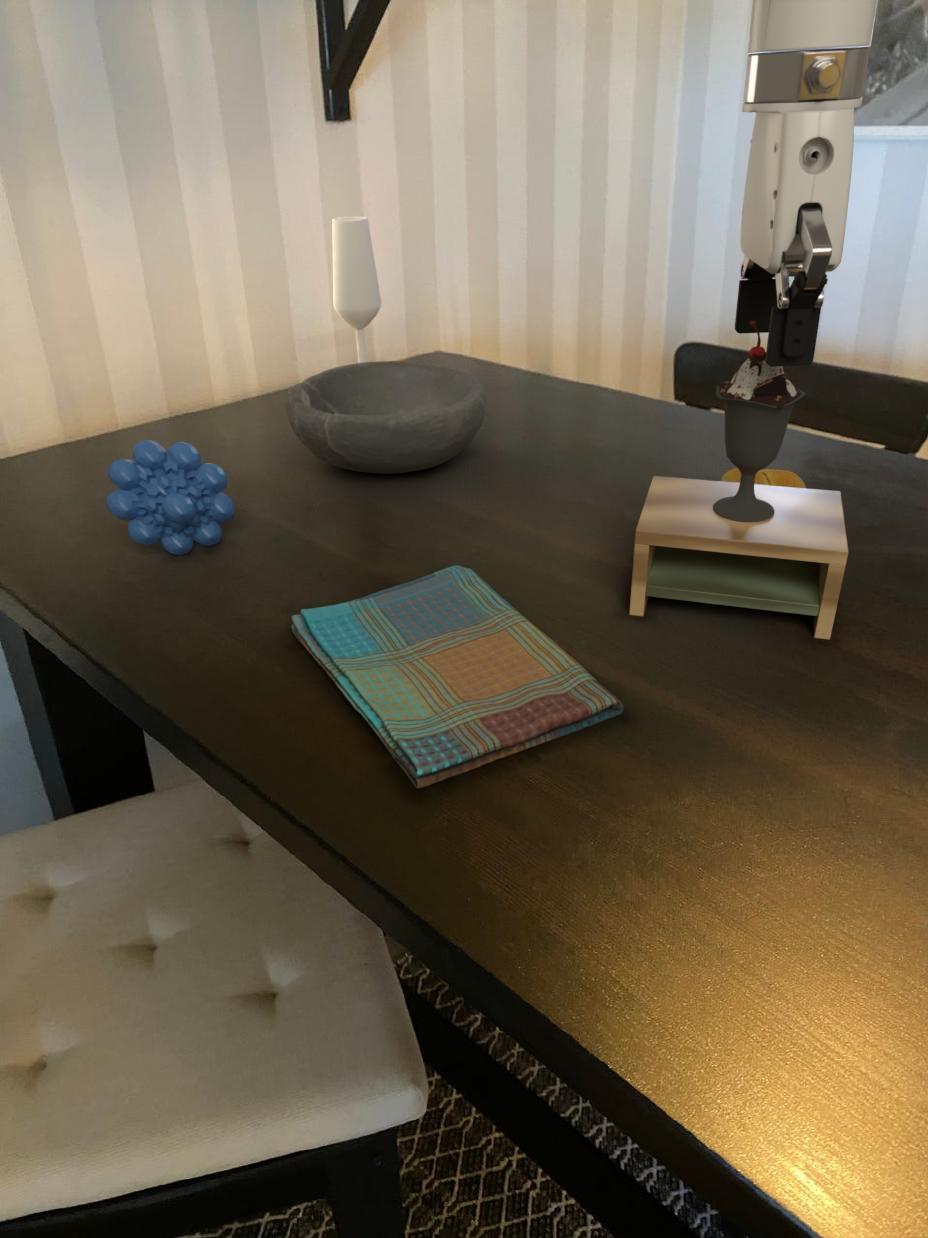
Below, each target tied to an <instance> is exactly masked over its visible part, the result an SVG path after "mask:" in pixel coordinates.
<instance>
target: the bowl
mask: <svg viewBox="0 0 928 1238" xmlns="http://www.w3.org/2000/svg"><path fill="white" fill-rule="evenodd" d="M286 394H287V395H286V399H285V400H286V401H285V413H286V415H287V419H288V422H289V424H290V427H291V429H292V431H293V432H294V434H295V436H297V438H298V439H299V440H300V442H301V443H302V444H303V445H304V447H306V448H307V450H308V451H309V452H310V453H311V454H312V455H314V456H315V458H317V459H319V460H320V461H322V462H324V463H327V464H328V465H332V466H335V467H338V468H340V469H345V470H349V471H354V472H358V473H359V472H360V473H368V474H378V475H379V474H382V475H383V474H384V475H396V474H404V473H411V472H419V471H423V470H427V469H430V468H433V467H437V466H440V465H442V464H444V463H446V462H448V461H449V460H452V459H453V458H454V457H456V456H458V454H460V453H461V452H462V451H463V450H464V449H465V448H466V447H467V446H468V445H469V444H470V443H472V441H473V439H474V438H475V437H476V435H477V433H478V432H479V430H480V428H481V426H482V423H483V422H484V418H485V415H486V407H487V399H486V397H487V396H486V391H485V389H484V387H483V385H482V384H481V383H480V381H479V380H478V379H477V378H476V377H474V376H473V375H471V374H469V373H467V372H465V371H463V370H459V369H457V368H453V367H449V366H445V365H437V364H427V363H419V362H410V361H397V360H387V361H385V360H384V361H383V360H382V361H366V362H364V363H358V362H357V363H351V364H346V365H340V366H336V367H333V368H329V369H326V370H324V371H321V372H319V373H316V374H314V375H312V376H309V377H308V378H305V379H304V380H303V381H301V382H300V383H297V384H295V385H293V386H291V388H289V389H288V391H287V393H286Z"/></svg>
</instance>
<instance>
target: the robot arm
mask: <svg viewBox="0 0 928 1238" xmlns="http://www.w3.org/2000/svg"><path fill="white" fill-rule="evenodd" d="M878 1H879V0H752V5H751V13H750V14H751V16H750V25H749V41H748V47H747V54H748V55H747V57H746V67H745V68H746V69H745V77H744V88H743V89H744V90H743V99H742V106H741V107H742V108H741V112H742V113H755V116H754V123H753V128H752V135H751V139H750V147H749V155H748V162H747V170H746V177H745V185H744V192H743V193H744V194H743V201H742V209H741V211H742V212H741V224H740V250H741V252H742V254H743V255H744V256H743V260H742V262H741V265H740V270H739V271H740V273H739V275H740V279H739V280H738V290H737V300H736V302H737V303H736V309H735V319H734V331H736V333H737V334H757V332H756V331H755V330H754V329H753V327H752V326H751V325H750V321H755V322H756V323H755V325H756V327H757V329H758V331H759V334H765V333H768V335H767V344H766V349H765V352H766V359H765V361H766V363H767V364H768V365H769V366H770V367H778V366H783V367H803V366H810V365H812V363H813V362H814V359H815V351H816V346H817V338H818V333H819V332H818V330H819V326H820V319H821V311H822V307H823V304H824V300H825V292H824V291H825V290H824V288H825V286H826V285H827V284H828V278H827V277H828V274H827V273H828V272H834V271H835V270H836V269H837V268H838V267H839V266H840V265H841V262H842V258H843V254H844V253H843V252H844V245H845V238H846V237H845V236H846V227H847V218H848V211H849V210H848V209H849V201H850V193H851V192H850V191H851V184H852V183H851V181H852V171H853V161H854V160H853V158H854V144H855V143H854V142H855V141H854V140H855V109H858V108H861V107H862V104H863V96H864V90H865V83H866V77H867V72H868V66H869V65H868V64H869V57H870V51H871V48H870V47H871V46H872V39H873V33H874V27H875V20H876V13H877V7H878ZM791 277H792V278H793V280H792V282H791V284H790V278H791Z"/></svg>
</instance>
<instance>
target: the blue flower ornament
mask: <svg viewBox="0 0 928 1238" xmlns="http://www.w3.org/2000/svg"><path fill="white" fill-rule="evenodd" d="M132 448H133V449H132V459H133V460H134V461H133V460H131V459H127V458H117V459H116V460H114V461H113V462H111V463H110V464H109V465H108V471H107V472H108V473H107V474H108V478H109V480H110V482H111V484H113V485H114V486H116V487H117V489H116V488H115V489H114V490H113V491H111V492H110V493H108V495H107V497H106V507H107V509H108V511H109V513H110V514H111V515H113V516H114V517H115V518H117V519H119V520H120V521H121V520H122V521H128V525H127V534H128V536H129V537H130V539H131V540H132V541H134V542H135V543H137V544H138V545H140V546H146V547H150V546H154V545H156V544H158V542H160V544H161V546H162V548H163V549H164V550H165V551H166V552H168V553H170V554H171V555H173V556H184V555H188V554H189V553H190V552H191V551H192V550H193V547H194V542H196V543H198V544H199V545H201V546H204V547H211V546H212V547H213V546H215V545H217V544H218V543H219V542H220V541H221V540H222V533H223V529H222V527H221V526H220V524H219V523H224V522H228V521H230V520H232V519H233V518H234V516H235V513H236V504H235V503H234V501H233V499H232V498H231V497H230V496H228V495H227V494H226V493H224V492H223V491H224V490H225V489H226V488H227V486H228V478H229V477H228V475H227V473H226V472H225V470H224V469H223V468H222V467H221V466H220V465H218V464H216V463H209V462H204V463H202V455H201V453H200V452H199V450H198V449H197V448H196V447H195V446H194V445H192V444H191V443H190V442H183V441H176V442H175V443H173V444H171V445H170V446H169V447H168V448H167V451H166V449H165V448H164V446H163V445H161V444H160V443H158V442H157V441H155V440H149V439H142V440H140V441H138V442H137V443H136V444H135V445H134V446H133V447H132ZM118 488H119V489H118Z"/></svg>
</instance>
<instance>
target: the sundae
mask: <svg viewBox="0 0 928 1238" xmlns="http://www.w3.org/2000/svg"><path fill="white" fill-rule="evenodd" d="M755 323H756V322H755V321H750V325H751V326H752V327H753V329H754V330H755V331H756V332H757V333H756V334H757V335H756V336H757V343H756V346H753V347H752V346H751V348H750V349H749V352H748V354H747V359H746V360H745V361H744V362H743V363H742V364H741V366H739V368H738V369H737V370H736V371H735V373H734V374H733V377H732V379H731V380H724V381H720V382H717V384H716V387H715V395H716V397H717V398H718V399H719V400H721V401H722V402H723V409H724V444H725V455H726V457H727V458H728V460H729V461H730V463H731V464H732V465H733V466H735V468H736V467H737V468H738V469H739V471H740V472H741V479H740V485H739V489H738V492H737V494H736V495H735V496H733V497H725V498H722V499H720V500H718V501H717V502H715V503H714V505H713V510H714V511H715V512H716V513H717V514H718V515H720V516H722V517H724V518H726V519H729V520H734V521H739V522H759V521H764V520H767V519H769V518H770V517H772V516H773V515H774V508H773V507H772V506H771V505H770V504H769V503H767V502H765V501H763V500H760V499H757V498H756V496H755V493H754V482H755V476H756V473H757V472H758V471H760V470H764V469H766V468H767V467H768V466H769V465H771V464H772V463H773V462H774V461H775V460H776V459H777V457H778V454H779V452H780V449H781V447H782V444H783V441H784V438H785V435H786V432H787V428H788V424H789V421H790V419H791V416H792V412H793V409H794V406H795V403H796V402H798V401H799V400H801V399H802V398H803V397H805V395H806V394H807V393H806V391H804V390H801V389H800V388H798V387H797V386H796V385H794V384H793V383H792V382H791V381H790V379H788V378H787V376H786V374H785V371H784V366H778V367H770V366H769V365H768V364H767V363H766V361H765V359H766V349H765V347H764V346H761V343H762V339H761V336H760V335H761V333H759V331H758V329H757V327H756V325H755Z"/></svg>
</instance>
